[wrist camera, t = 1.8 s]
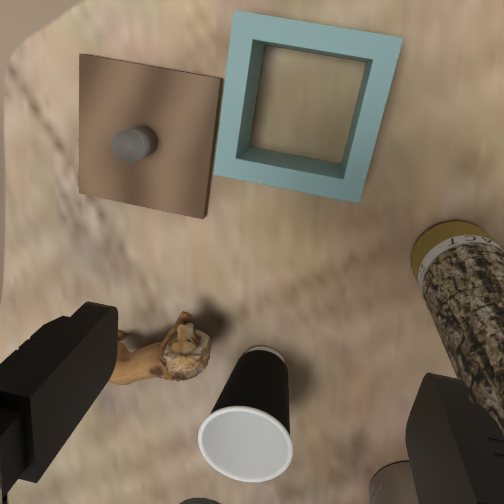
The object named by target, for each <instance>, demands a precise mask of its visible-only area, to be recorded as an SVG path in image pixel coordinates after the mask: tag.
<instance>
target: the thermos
mask: <svg viewBox="0 0 504 504" xmlns="http://www.w3.org/2000/svg"><path fill="white" fill-rule="evenodd" d="M180 504H220V503H218V502H216V501H212V500H209V499H205V498H193V499H188V500H185V501H183V502H182V503H180Z"/></svg>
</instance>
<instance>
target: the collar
mask: <svg viewBox="0 0 504 504" xmlns="http://www.w3.org/2000/svg"><path fill="white" fill-rule="evenodd" d="M402 41H403V38H402V37H396V36H390V35H384V34H378V33H372V32H365V31H359V30H353V29H347V28H341V27H335V26H329V25H323V24H316V23H310V22H304V21H298V20H292V19H286V18H280V17H274V16H267V15H261V14H255V13H249V12H243V11H237V10H234V13H233V21H232V29H231V37H230V45H229V53H228V61H227V69H226V77H225V85H224V93H223V101H222V109H221V117H220V125H219V133H218V140H217V148H216V156H215V164H214V172H213V175H218V176H223V177H228V178H233V179H238V180H243V181H248V182H253V183H258V184H263V185H268V186H273V187H278V188H283V189H288V190H293V191H298V192H303V193H308V194H313V195H318V196H323V197H328V198H333V199H338V200H343V201H348V202H353V203H358V204H359V202H360V199H361V195H362V191H363V187H364V184H365V180H366V176H367V172H368V169H369V165H370V161H371V157H372V154H373V150H374V146H375V143H376V139H377V135H378V131H379V128H380V124H381V120H382V116H383V113H384V109H385V105H386V101H387V98H388V94H389V90H390V86H391V83H392V79H393V75H394V71H395V68H396V64H397V60H398V56H399V53H400V49H401V45H402ZM265 45H269V46H275V47H280V48H286V49H292V50H298V51H304V52H310V53H316V54H322V55H328V56H334V57H339V58H345V59H351V60H357V61H363V62H366V65H365V69H364V73H363V78H362V82H361V86H360V90H359V94H358V98H357V102H356V107H355V111H354V115H353V119H352V123H351V127H350V131H349V136H348V140H347V144H346V148H345V152H344V156H343V160H342V164H338V163H333V162H328V161H322V160H317V159H312V158H307V157H301V156H296V155H291V154H286V153H280V152H275V151H270V150H265V149H260V148H254V147H249V145H250V138H251V132H252V125H253V119H254V112H255V106H256V100H257V93H258V87H259V80H260V74H261V67H262V61H263V54H264V48H265Z"/></svg>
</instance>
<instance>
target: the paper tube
mask: <svg viewBox="0 0 504 504" xmlns="http://www.w3.org/2000/svg"><path fill="white" fill-rule="evenodd" d="M411 265H412V270H413V273H414V275H415V278H416V280H417V282H418V285H419V287H420V290H421V293H422V295H423V297H424V300H425V302H426V305H427V307H428V309H429V312H430V314H431V316H432V319H433V321H434V323H435V326H436V328H437V331H438V333H439V335H440V338H441V340H442V342H443V345H444V347H445V349H446V352H447V354H448V357H449V359H450V361H451V364H452V366H453V368H454V371H455V373H456V375H457V378H458V379H460V380H461V381H462V383H463V385H464V387H465V389H466V391H467V394H468V396H469V398H470V400H471V403H474V404H479V405H481V406H482V407H483V408H484V409H485V410H486V411H487V412H488V413H489V414H490V415H491V416H492V417H493V418H494V420H495V421H496V422H497V423H498V425H499V427H500V429H501V431H502V433H503V435H504V250H503V249H502V248H501V247H500V246H499V245H498V244H497V243H496V242H495V241H494V240H493V239H492V238H491V237H490V236H489V235H488V234H487V233H486V232H485V231H484V230H482V229H481V228H479V227H477V226H476V225H473V224H471V223H467V222H461V221H452V222H446V223H442V224H439V225H436V226H434V227H432V228H431V229H429V230H428V231H426V232H425V233H424V234H423V235H422V236H421V237H420V238H419V240H418V241H417V242H416V244H415V246H414V248H413V251H412V256H411Z"/></svg>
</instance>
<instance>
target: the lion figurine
mask: <svg viewBox="0 0 504 504" xmlns="http://www.w3.org/2000/svg"><path fill="white" fill-rule="evenodd" d="M190 320H191V316H190V315H189V314H188V313H185V312H182V313H181V314H180V316H179V318H178V320H177V322H176V325H175V326H174V327H173V328H172V329H171V330H170V331H169V333H168V334H167V336H166V338H165V339H164V340H163V342H158V343H154V344H150V345H147V346H145V347H142V348H140V349H139V350H137V351H135V352H133V353H130V352H129V351H128V350H127V348H126V347H125V345H124V344H123V343H122V342H119V341H122V340H123V339H124V338H125V334H124V333H123V332H122V331H118V348H117V361H116V365H115V368H114V371H113V374H112V376H111V378H110V379H109V381H110V382H111V383H114V384H118V385H127V384H130V383H133V382H135V381H138V380H143V379H148V378H154V377H159V378H164V379H166V380H167V379H169V380H170V381H173V380H176V381H180V380H188V379H191V378H193V377H196V376H197V375H198V374H199V373H201V372H202V371H203V370H205V367H206V366H207V365H208V360H209V358H210V349H211V342H210V338H209V335H207V334H205V333H204V332H202V331H199V330H195V328H194V325H193V324H192V323H189V322H190Z"/></svg>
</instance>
